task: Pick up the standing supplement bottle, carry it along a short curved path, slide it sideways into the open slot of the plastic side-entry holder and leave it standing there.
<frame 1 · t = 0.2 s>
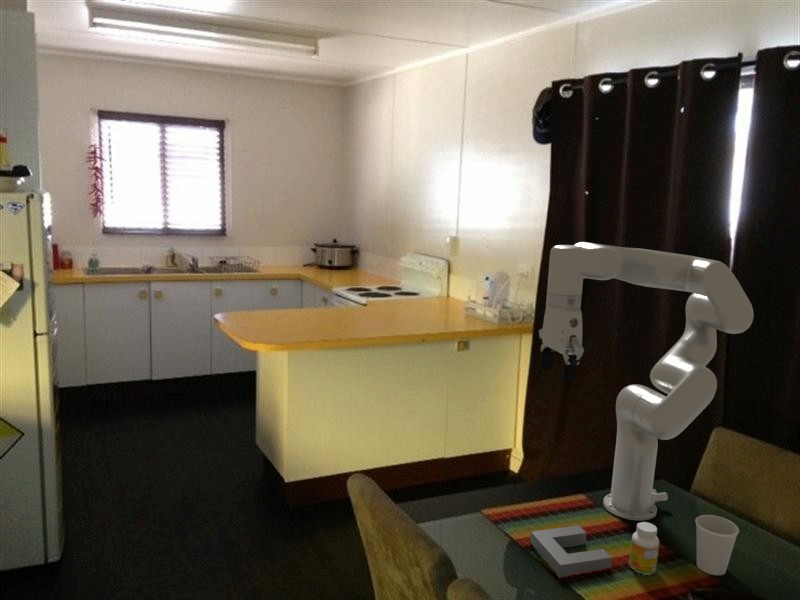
hand: (557, 374, 151), 36 cm above the table, tool pointing down, fingers open, 9 cm apart
dixie cup: (710, 568, 142), on the table
supplement bottle: (641, 569, 140), on the table
side entry holder: (569, 556, 144), on the table
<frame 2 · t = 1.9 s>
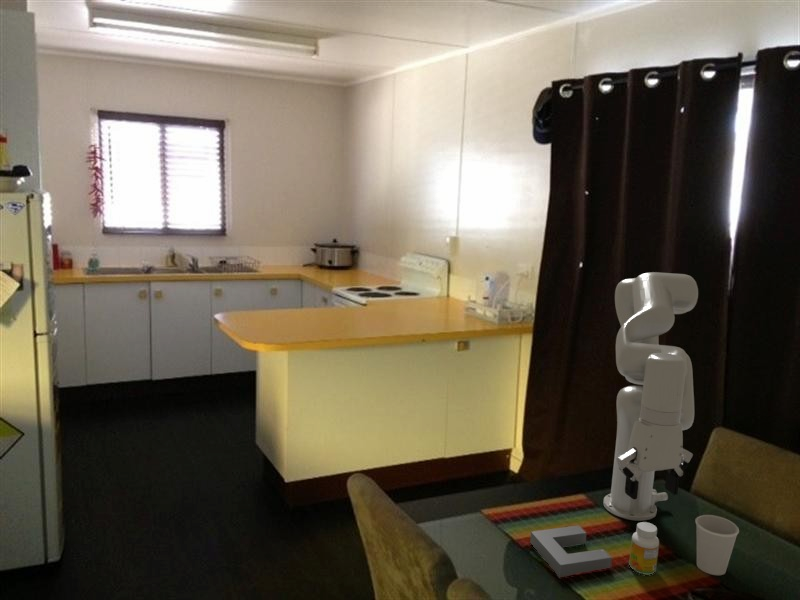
hand: (651, 493, 137), 17 cm above the table, tool pointing down, fingers open, 9 cm apart
nothing on the table moved.
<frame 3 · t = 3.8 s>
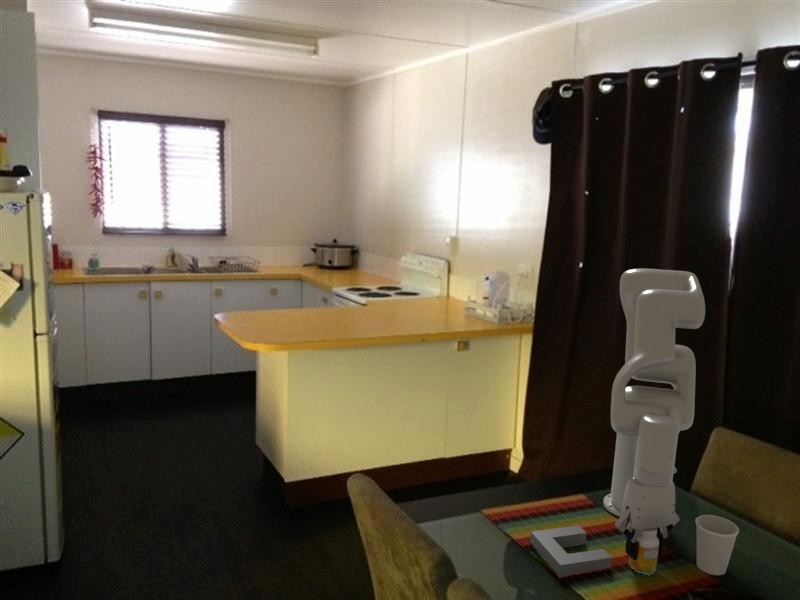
hand: (643, 553, 140), 4 cm above the table, tool pointing down, fingers closed on supplement bottle, 5 cm apart
supplement bottle: (641, 569, 140), on the table, touching gripper
everything else where it was.
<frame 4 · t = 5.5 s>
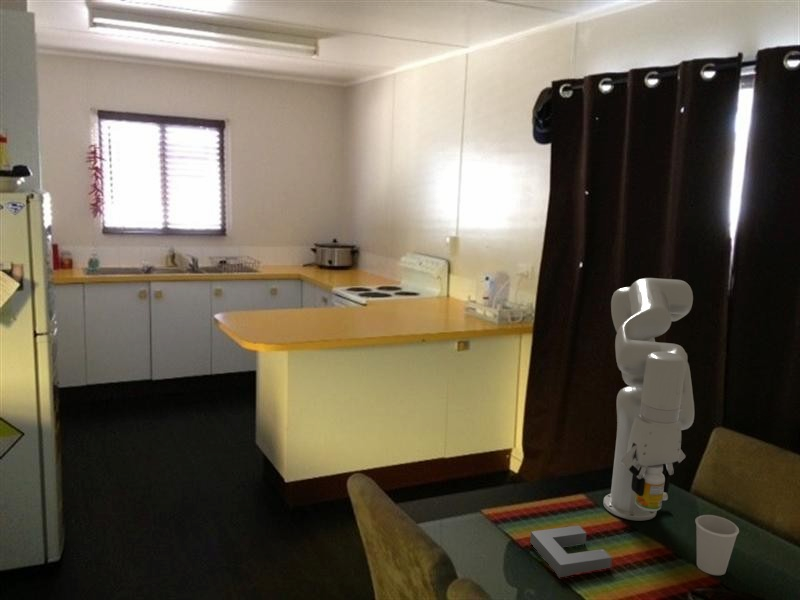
hand: (649, 490, 141), 16 cm above the table, tool pointing down, fingers closed on supplement bottle, 5 cm apart
supplement bottle: (647, 506, 142), point 12 cm above the table, touching gripper
everything else where it was.
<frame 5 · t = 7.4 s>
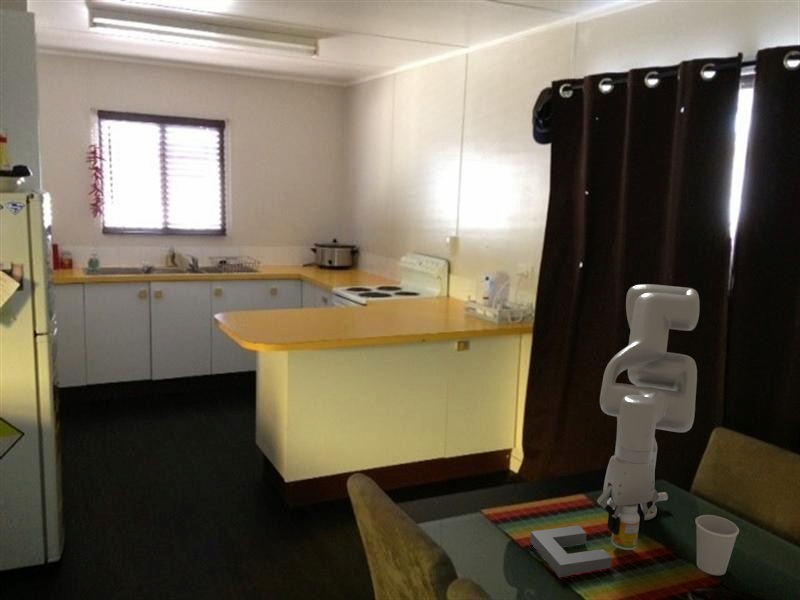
hand: (625, 529, 146), 5 cm above the table, tool pointing down, fingers closed on supplement bottle, 5 cm apart
supplement bottle: (623, 544, 147), point 1 cm above the table, touching gripper
everything else where it was.
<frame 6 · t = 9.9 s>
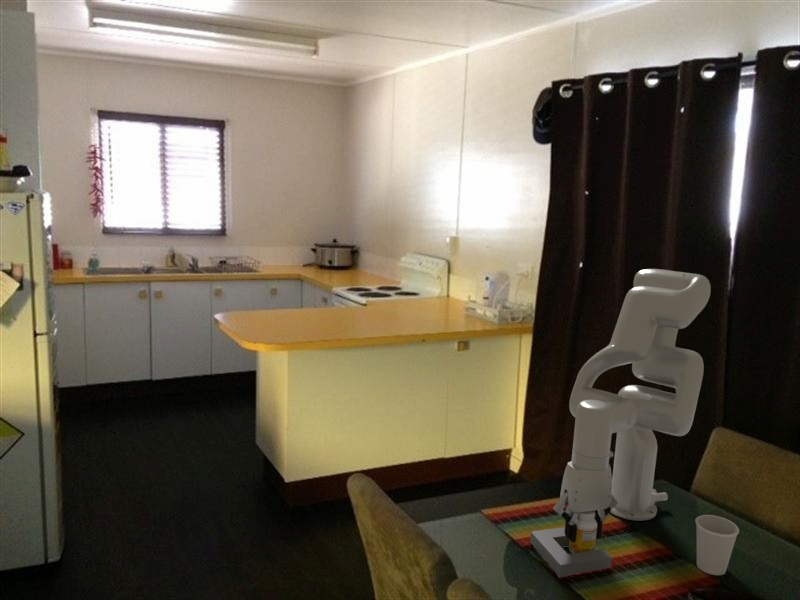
hand: (582, 536, 144), 4 cm above the table, tool pointing down, fingers closed on supplement bottle, 5 cm apart
supplement bottle: (581, 551, 144), point 1 cm above the table, touching gripper
everything else where it was.
when the fingers open (4 cm above the table, at t = 11.5 s): supplement bottle stays where it is, resting in side entry holder.
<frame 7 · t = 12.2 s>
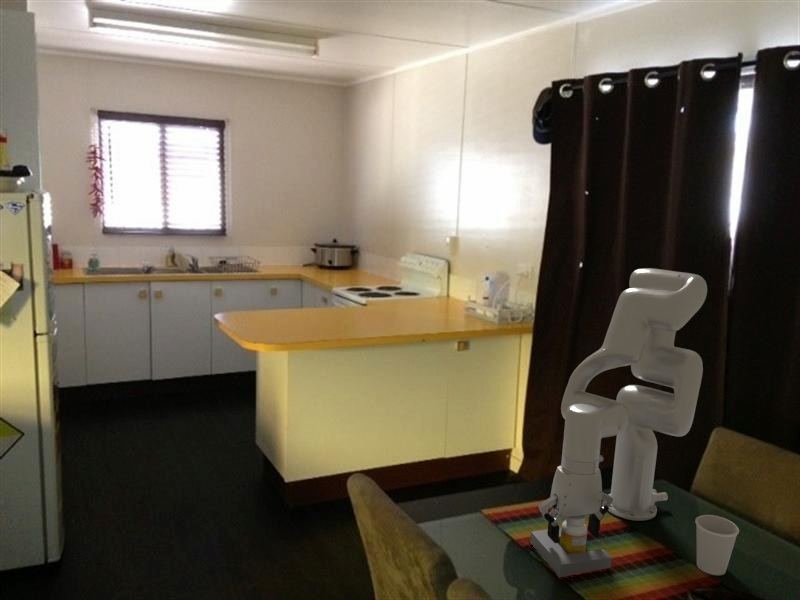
hand: (573, 536, 143), 5 cm above the table, tool pointing down, fingers open, 9 cm apart
supplement bottle: (571, 557, 144), resting in side entry holder
everything else where it was.
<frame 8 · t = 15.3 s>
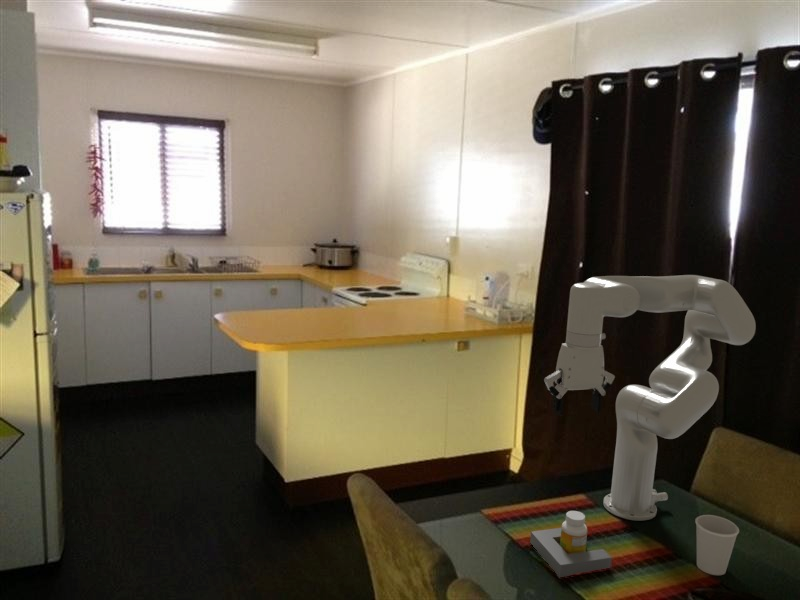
hand: (576, 412, 151), 28 cm above the table, tool pointing down, fingers open, 9 cm apart
nothing on the table moved.
at the end: supplement bottle 0.2 cm off-centre on the side entry holder, point 0.0 cm above the side entry holder's base; supplement bottle tilted 0°; the gripper is holding nothing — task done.
